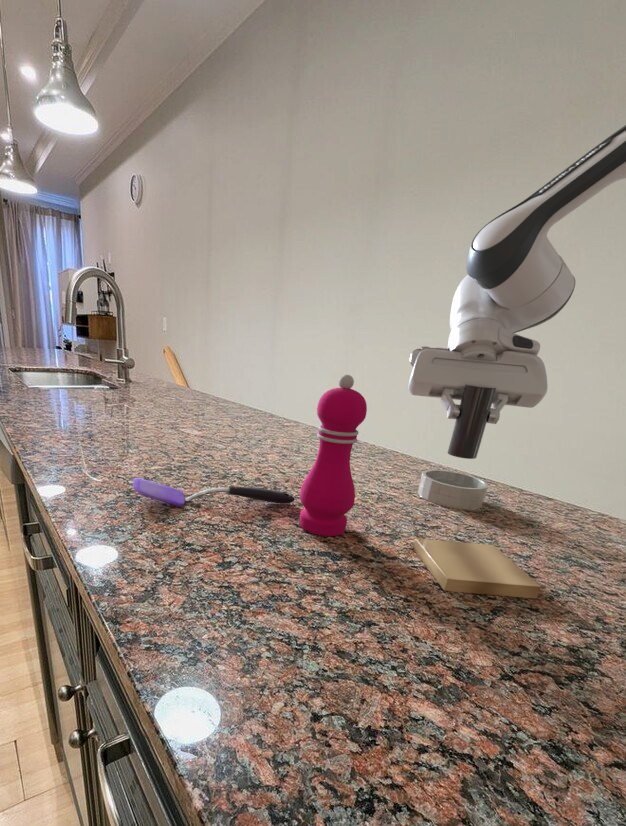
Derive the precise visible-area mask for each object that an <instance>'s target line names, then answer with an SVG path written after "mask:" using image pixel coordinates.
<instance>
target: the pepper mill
mask: <svg viewBox="0 0 626 826" xmlns="http://www.w3.org/2000/svg"><path fill="white" fill-rule="evenodd" d="M354 383H355V380H354V377H353V376H352V375H350V374H343V375H342V376H341V377H340V378H339V380H338V386H339V387H333V388H331V389H329V390H327V391H326V392H324V393H323V394H322V395H321V396H320V398H319V399H318V402H317V406H316V415H317V417H318V420H319V421H320V423H321V425H318V427H317V430H318V432H317V433H316V437H317V438H318V439H319V445H318V451H317V455H316V458H315V461H314V463H313V465H312V467H311V469H310V470H309V472H308V474H307V475H306V477H305V478H304V479H303V482H302V484H301V487H300V491H299V500H300V501H299V502H300V503H301V504H302V506H303V507H304V508H303V509H302V510H301V511H300V514H299V521H298V522H299V526H300V527H301V529H303V530H304V531H306V532H308V533H311V534H313V535H317V536H322V537H336V536H337V537H338V536H341V535H343V534H344V533H345V532H346V528H347V527H346V526H347V523H348V517H347V516H346V514H347V513H348V512H350V511H351V510H352V508H353V507H354V505H355V501H356V489H355V485H354V480H353V476H352V472H351V471H352V470H351V453H352V449H353V445H354V444H355V443H357V442H358V435H359V433H360V432H359V430H357V428H358V427H359V426H361V424H362V423H363V422H364V421H365V419H366V417H367V411H368V406H367V401H366V399H365V397H364V395H362V393H360V392H359V391H357V390H355V389H353V386H354Z"/></svg>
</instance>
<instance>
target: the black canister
mask: <svg viewBox="0 0 626 826" xmlns="http://www.w3.org/2000/svg"><path fill="white" fill-rule="evenodd" d="M495 391H496V387H491V386H485V385H475V384H465V387H464V390H463V394H462V398H461V400H460V402H459V405H460V409H459V410H460V414H459V416H458V418H457V419H455V421H454V425H453V430H452V433H451V437H450V440H449V445H448V448H447V453H446V454H448V455H450V456H452V457H455V458H460V459H467V460H474V459H475V460H476V459H477V457H478V453H479V451H480V447H481V444H482V439H483V436H484V433H485V429H486V426H487V424H488V423H487V419H488V416H489V412H490V409H491V408H492V406H493V404H492V402H493V398H494V395H495Z"/></svg>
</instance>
